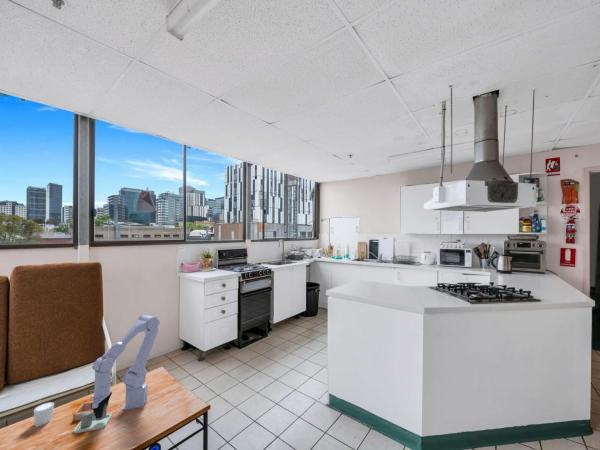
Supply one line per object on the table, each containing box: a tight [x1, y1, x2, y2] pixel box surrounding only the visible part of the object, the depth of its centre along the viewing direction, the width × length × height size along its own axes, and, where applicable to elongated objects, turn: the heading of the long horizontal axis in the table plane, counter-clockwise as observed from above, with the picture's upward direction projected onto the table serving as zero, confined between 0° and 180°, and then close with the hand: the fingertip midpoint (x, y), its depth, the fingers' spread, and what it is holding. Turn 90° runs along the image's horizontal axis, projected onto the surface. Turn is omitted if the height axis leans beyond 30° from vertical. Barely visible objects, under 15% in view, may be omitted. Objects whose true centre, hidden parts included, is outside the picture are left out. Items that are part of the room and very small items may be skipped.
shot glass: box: [33, 401, 55, 427], centre depth 118 cm, size 7×7×7 cm
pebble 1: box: [80, 411, 93, 428], centre depth 115 cm, size 4×4×5 cm
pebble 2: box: [96, 404, 108, 421], centre depth 117 cm, size 4×4×5 cm
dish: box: [72, 400, 110, 422], centre depth 124 cm, size 11×9×3 cm
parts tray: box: [72, 412, 114, 435], centre depth 116 cm, size 12×9×1 cm
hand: (101, 414), depth 117 cm, fingers closed on pebble 2, 4 cm apart
